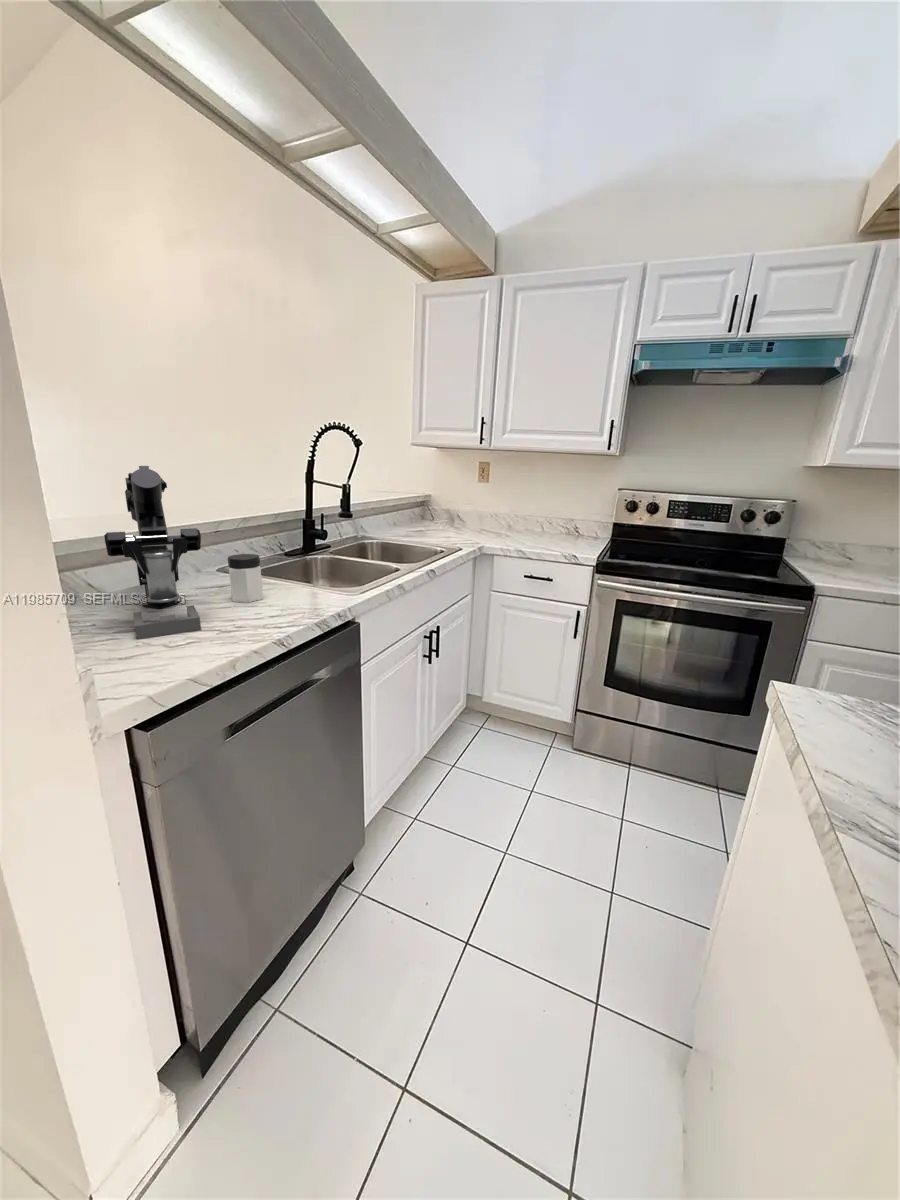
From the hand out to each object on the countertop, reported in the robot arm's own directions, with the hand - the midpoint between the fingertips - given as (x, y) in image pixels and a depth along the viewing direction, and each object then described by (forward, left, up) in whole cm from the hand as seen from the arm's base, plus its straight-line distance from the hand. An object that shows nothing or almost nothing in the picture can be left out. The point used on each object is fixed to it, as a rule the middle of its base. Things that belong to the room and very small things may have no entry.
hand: (160, 572), depth 111 cm
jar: (-1, +27, -13) cm, 30 cm away
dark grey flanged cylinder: (-1, +1, -7) cm, 7 cm away
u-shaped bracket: (-1, +1, -13) cm, 13 cm away
